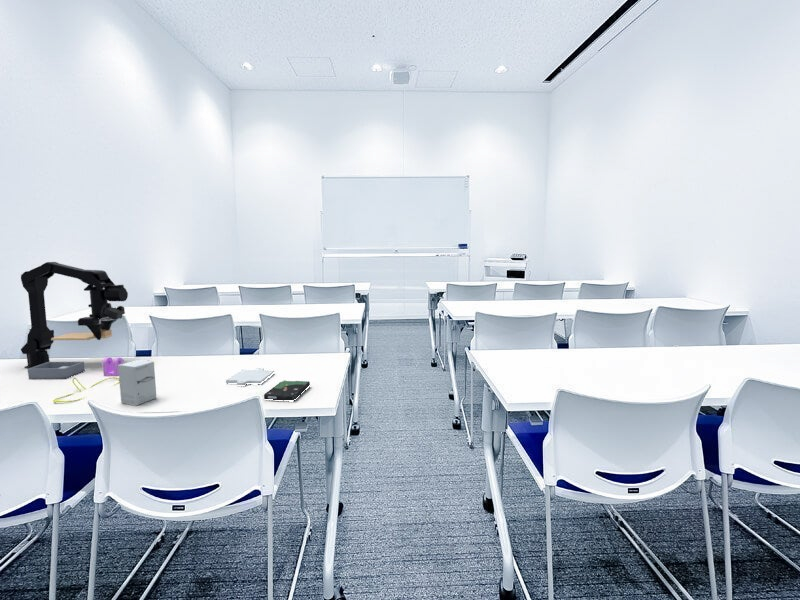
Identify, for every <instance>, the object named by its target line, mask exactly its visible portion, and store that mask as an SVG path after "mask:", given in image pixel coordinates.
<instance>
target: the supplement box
mask: <svg viewBox="0 0 800 600" xmlns="http://www.w3.org/2000/svg"><path fill="white" fill-rule="evenodd" d="M118 370H119V376H118V378H119V379H118V382H120V383H119V391H120V393H119V394H120V403H121V404H126V405H133V406H138V405H141V404H143V403H146V402H149V401H152V400H155V399H157V386H156V373H155V361H153V360H145V359H136V360H133V361H128V362H123V364H121V365H118Z"/></svg>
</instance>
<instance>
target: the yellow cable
mask: <svg viewBox="0 0 800 600" xmlns="http://www.w3.org/2000/svg"><path fill="white" fill-rule="evenodd" d="M111 379H113V380H114V379H115V380H119V377H116V376H112V377H108V378H104V379H102V380H100V381H98V382H96V383H94V384H92V385H91V386H92V387H94V386H96V385H98V384H100V383H103V381H106V380H111ZM75 380H76V381H77V383H78V384H79V385H80V386H81V388H83V389H84V390H85V389H87V388H86V387H85V386H83V385H82V383H80V382H79V379H77V377H72V383H73V385H74V386H75V387H76V389H77V390H78V391H79V392H81V391H82V390H81V389H80V388H79V386H78V385H77V384H76V383H75ZM95 384H96V385H95ZM118 384H120V382H119V381H118V382H117V383H114V386H116V385H118ZM93 385H94V386H93ZM74 393H75V392H73V393H70V394H69V393H68V394H66V395H62V396H59V397H56V398H55V399H53V400H52V401H53V403H72V402H77V400H78V401H81V400H83V399H85V397H86V396H84V397H81V398H78V399H73V400H59V399H61V398H65V397H68V396H72V395H75V394H74ZM71 394H72V395H71ZM82 398H83V399H82ZM80 399H81V400H80Z"/></svg>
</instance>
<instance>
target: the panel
mask: <svg viewBox="0 0 800 600" xmlns="http://www.w3.org/2000/svg"><path fill="white" fill-rule="evenodd" d="M83 371H85V372H86V368H85V361H49V362H47V363H44V364H41V365H38V366H35V367H32V368H27V376H28V380H67V378H68V379H70V378H72V377H75V376H77V375H79V374H78V373H80V374H82V373H84V372H83ZM81 372H82V373H81ZM76 374H77V375H76ZM74 375H75V376H74ZM71 376H72V377H71ZM69 377H70V378H69Z"/></svg>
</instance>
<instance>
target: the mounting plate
mask: <svg viewBox="0 0 800 600" xmlns="http://www.w3.org/2000/svg"><path fill="white" fill-rule="evenodd" d="M273 372H275V370H269V369H268V370H265V368H262V367H261V368H258V367H257V368H256V369H241V370H240V371H238V372H236V373H235V374H233V375H231V376H230V377H228V378H227V379H225V384H226V383H237V384H236V386H237V385H245V384H246V383H261V382H262V381H264V380H265V379H266V378H267V377H268V376H270V375H271V374H272V373H273Z"/></svg>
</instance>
